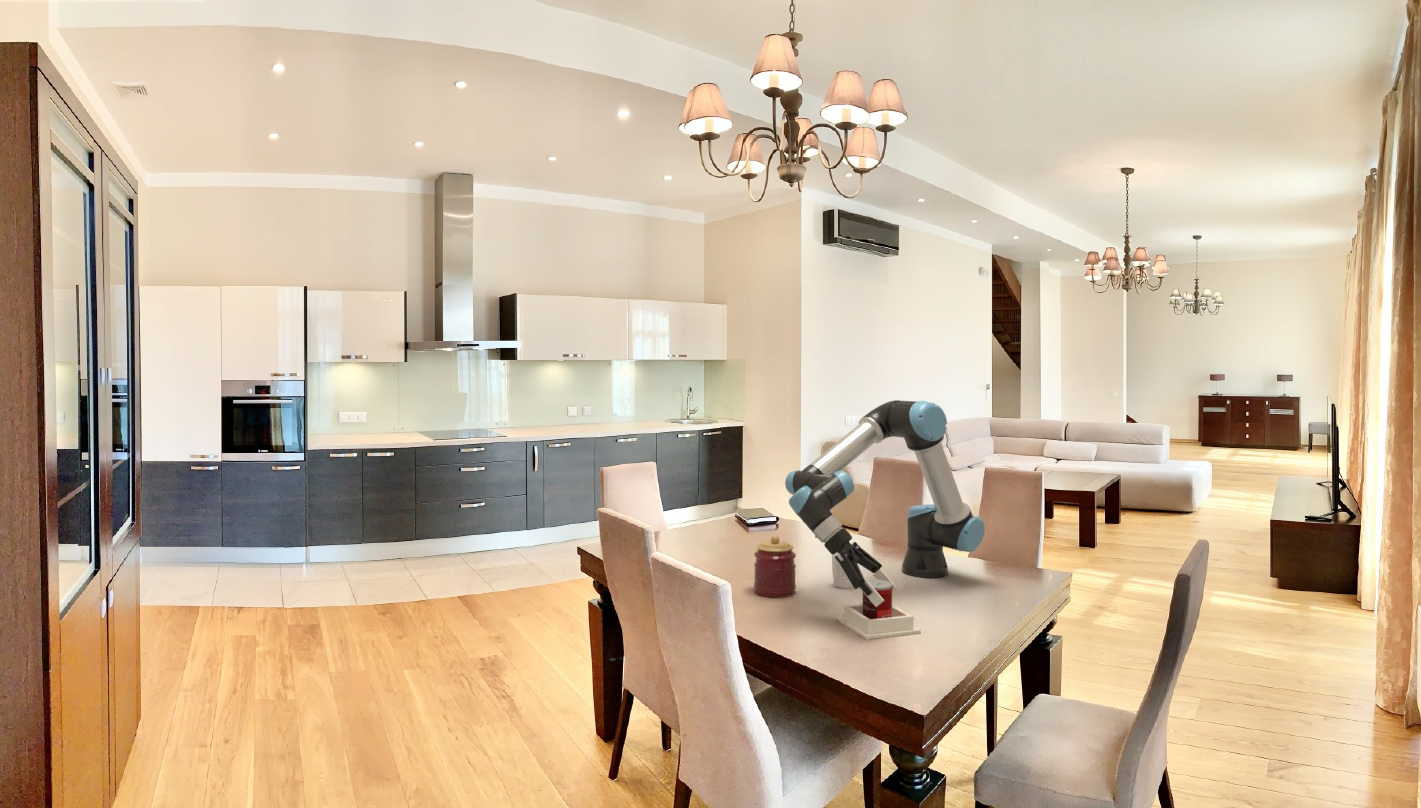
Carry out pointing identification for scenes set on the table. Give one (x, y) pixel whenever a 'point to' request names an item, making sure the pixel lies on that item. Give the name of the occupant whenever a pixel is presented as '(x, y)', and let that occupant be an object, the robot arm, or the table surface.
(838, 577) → the white cup
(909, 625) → the white square tray
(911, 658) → the table surface
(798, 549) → the table surface
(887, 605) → the canned food
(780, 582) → the canister
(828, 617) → the table surface
